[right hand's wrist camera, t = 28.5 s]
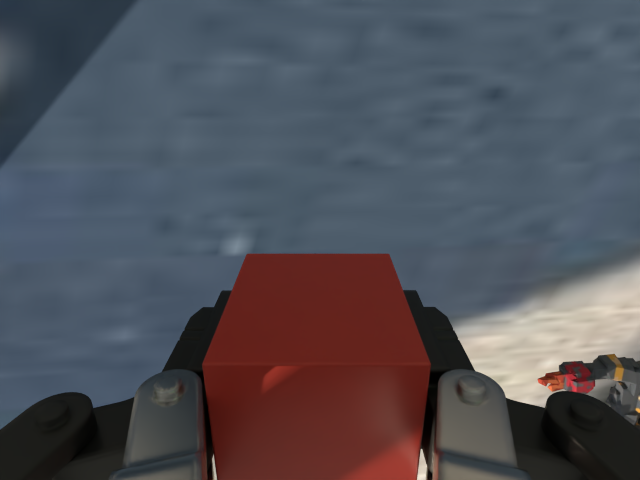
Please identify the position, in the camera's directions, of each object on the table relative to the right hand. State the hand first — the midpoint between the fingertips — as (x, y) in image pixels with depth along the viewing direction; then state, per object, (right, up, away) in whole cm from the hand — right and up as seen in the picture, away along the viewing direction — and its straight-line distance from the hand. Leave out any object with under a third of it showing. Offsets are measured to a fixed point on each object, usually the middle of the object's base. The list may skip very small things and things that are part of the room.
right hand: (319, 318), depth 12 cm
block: (0, 0, +1) cm, 1 cm away
